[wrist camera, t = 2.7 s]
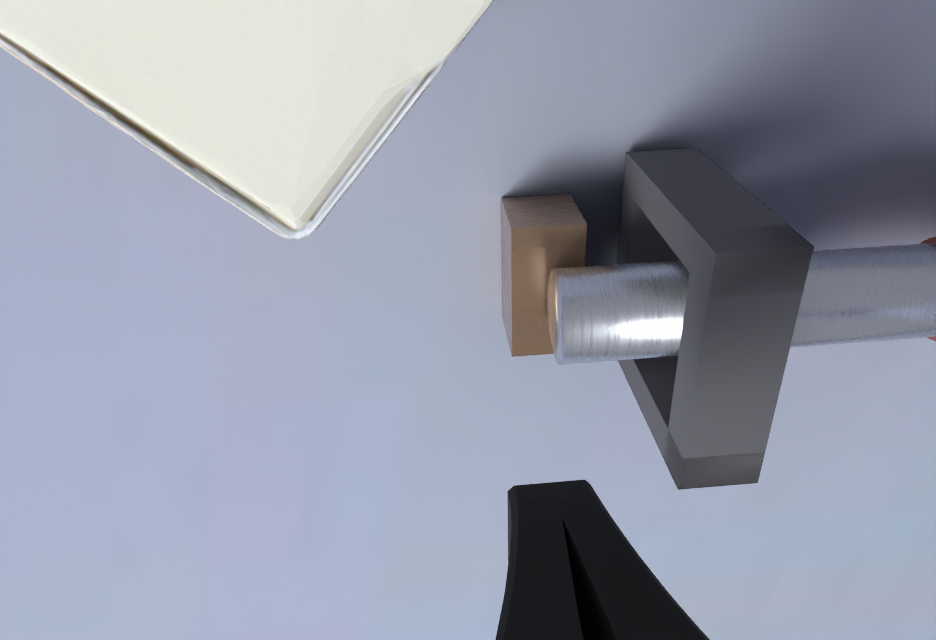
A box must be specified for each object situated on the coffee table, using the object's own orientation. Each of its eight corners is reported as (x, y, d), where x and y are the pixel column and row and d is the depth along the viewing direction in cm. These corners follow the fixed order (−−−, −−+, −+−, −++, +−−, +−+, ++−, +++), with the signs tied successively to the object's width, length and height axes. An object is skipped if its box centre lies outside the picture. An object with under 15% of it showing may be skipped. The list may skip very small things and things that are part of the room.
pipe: (1096, 160, 21) (1269, 224, 17) (1045, 278, 23) (1187, 362, 19) (501, 197, 20) (526, 275, 16) (502, 317, 22) (525, 413, 18)
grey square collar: (696, 147, 20) (813, 246, 14) (670, 339, 23) (757, 482, 17) (625, 152, 20) (716, 252, 14) (610, 344, 23) (677, 489, 17)
